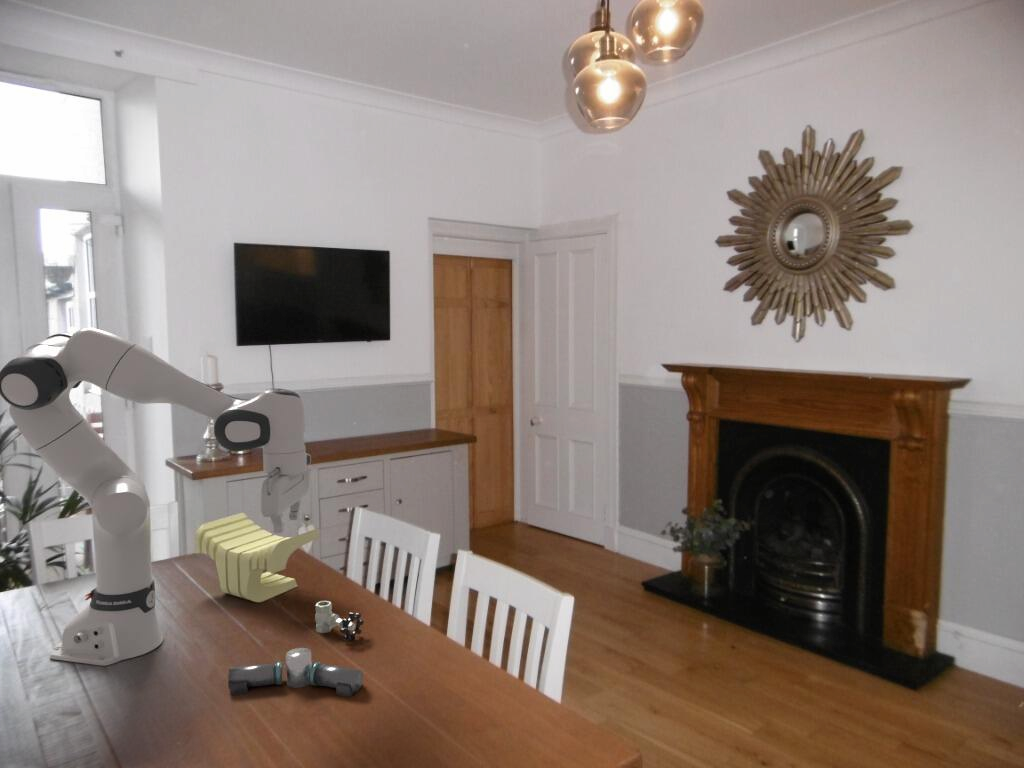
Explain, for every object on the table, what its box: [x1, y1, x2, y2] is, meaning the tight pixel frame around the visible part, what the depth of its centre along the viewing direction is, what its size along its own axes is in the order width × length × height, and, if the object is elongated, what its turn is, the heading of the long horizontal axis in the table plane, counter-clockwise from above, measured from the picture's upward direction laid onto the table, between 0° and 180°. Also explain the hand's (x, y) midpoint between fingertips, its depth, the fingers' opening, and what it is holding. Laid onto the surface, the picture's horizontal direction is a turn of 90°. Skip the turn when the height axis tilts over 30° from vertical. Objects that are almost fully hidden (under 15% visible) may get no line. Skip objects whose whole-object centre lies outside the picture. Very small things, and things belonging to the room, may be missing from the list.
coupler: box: [285, 647, 313, 689], centre depth 148 cm, size 5×5×6 cm
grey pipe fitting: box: [227, 661, 284, 696], centre depth 146 cm, size 10×5×4 cm, turn 103°
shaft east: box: [308, 661, 364, 698], centre depth 146 cm, size 10×5×4 cm, turn 73°
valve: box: [314, 600, 364, 642], centre depth 170 cm, size 7×7×12 cm
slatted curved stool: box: [194, 511, 319, 603], centre depth 195 cm, size 30×16×18 cm, turn 60°
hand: (286, 525), depth 157 cm, fingers open, 8 cm apart
